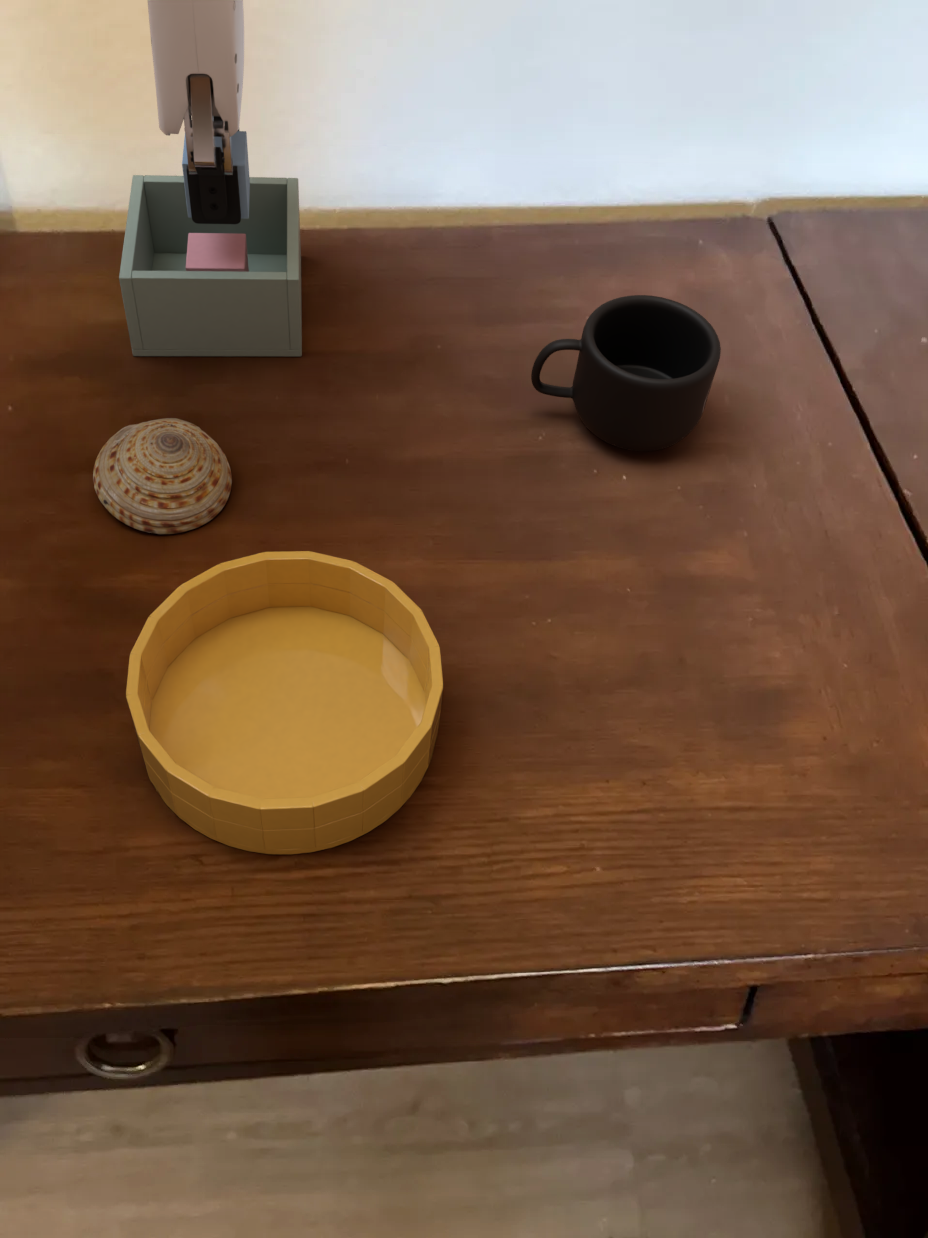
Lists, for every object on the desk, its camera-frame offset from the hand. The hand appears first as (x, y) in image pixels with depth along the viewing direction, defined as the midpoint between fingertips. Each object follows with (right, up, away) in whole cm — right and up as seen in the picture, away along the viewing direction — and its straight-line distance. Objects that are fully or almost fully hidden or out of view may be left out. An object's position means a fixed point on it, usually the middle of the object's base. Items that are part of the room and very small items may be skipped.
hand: (218, 198), depth 82 cm
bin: (-1, -6, +6) cm, 8 cm away
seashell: (-2, -20, -5) cm, 21 cm away
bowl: (+7, -34, -15) cm, 38 cm away
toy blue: (0, 0, 0) cm, 0 cm away
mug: (+27, -15, +2) cm, 31 cm away
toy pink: (-1, -5, +5) cm, 8 cm away
